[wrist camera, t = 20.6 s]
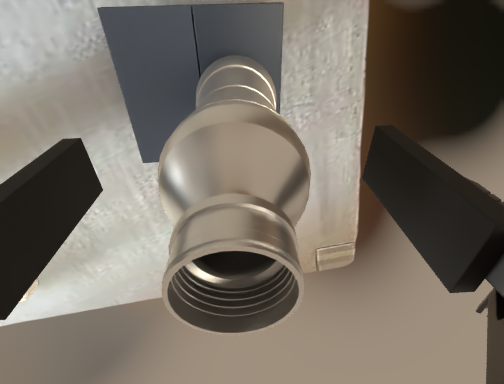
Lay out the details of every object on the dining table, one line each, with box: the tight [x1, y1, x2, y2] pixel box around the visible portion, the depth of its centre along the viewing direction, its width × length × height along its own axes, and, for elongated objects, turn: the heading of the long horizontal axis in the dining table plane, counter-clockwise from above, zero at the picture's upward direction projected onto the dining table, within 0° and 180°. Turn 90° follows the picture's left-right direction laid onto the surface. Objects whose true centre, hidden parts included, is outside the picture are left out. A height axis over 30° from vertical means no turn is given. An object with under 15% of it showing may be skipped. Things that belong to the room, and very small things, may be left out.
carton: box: [101, 2, 284, 115], centre depth 27 cm, size 14×13×11 cm
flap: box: [97, 5, 200, 163], centre depth 23 cm, size 7×13×1 cm, turn 2°
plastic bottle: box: [158, 55, 311, 335], centre depth 15 cm, size 6×7×20 cm
